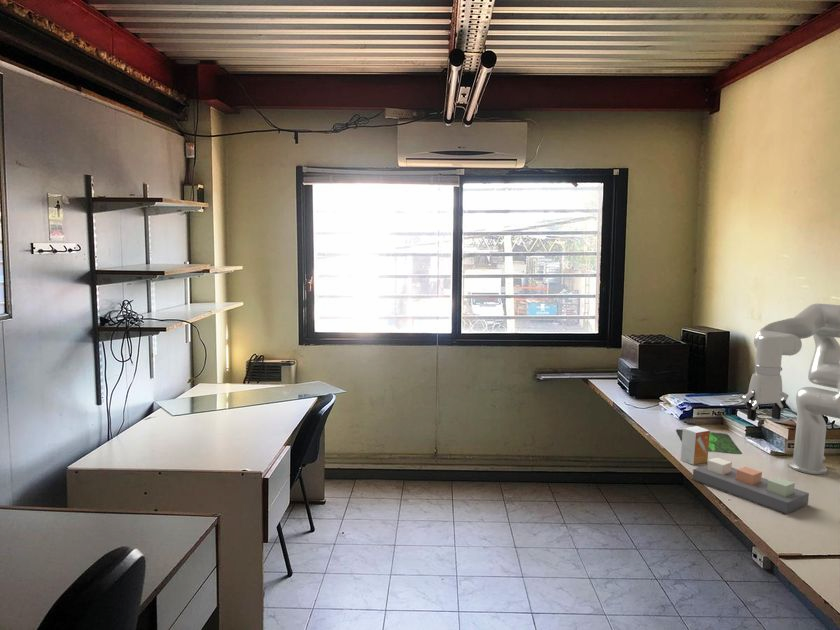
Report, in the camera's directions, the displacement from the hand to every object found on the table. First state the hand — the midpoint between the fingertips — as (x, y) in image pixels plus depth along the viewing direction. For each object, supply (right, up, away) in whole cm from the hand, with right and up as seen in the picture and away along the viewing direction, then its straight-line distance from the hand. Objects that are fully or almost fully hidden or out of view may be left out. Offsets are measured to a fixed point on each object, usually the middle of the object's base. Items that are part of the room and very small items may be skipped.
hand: (763, 419), depth 204 cm
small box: (-11, -22, +28) cm, 37 cm away
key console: (-6, -25, 0) cm, 26 cm away
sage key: (0, -24, -10) cm, 26 cm away
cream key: (-11, -21, +8) cm, 26 cm away
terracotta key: (-6, -23, -1) cm, 23 cm away
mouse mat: (+6, -20, +52) cm, 56 cm away
